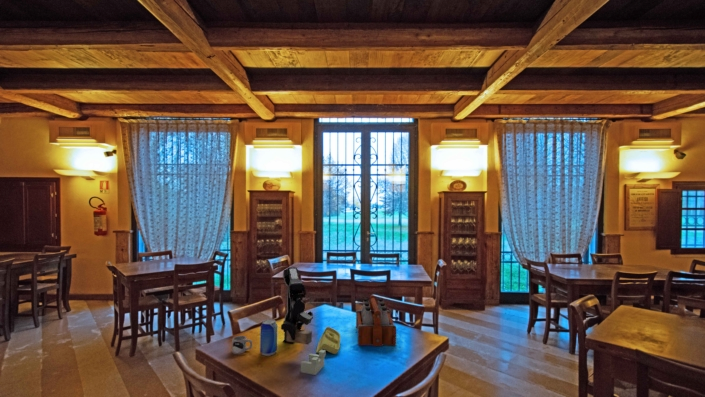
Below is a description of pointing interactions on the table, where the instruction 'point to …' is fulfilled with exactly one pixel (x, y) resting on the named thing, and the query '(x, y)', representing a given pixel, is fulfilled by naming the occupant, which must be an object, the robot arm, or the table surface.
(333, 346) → the plastic component
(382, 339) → the milk bottle holder
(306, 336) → the rail
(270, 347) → the beer can
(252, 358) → the table surface
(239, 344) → the mug
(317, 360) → the posts
